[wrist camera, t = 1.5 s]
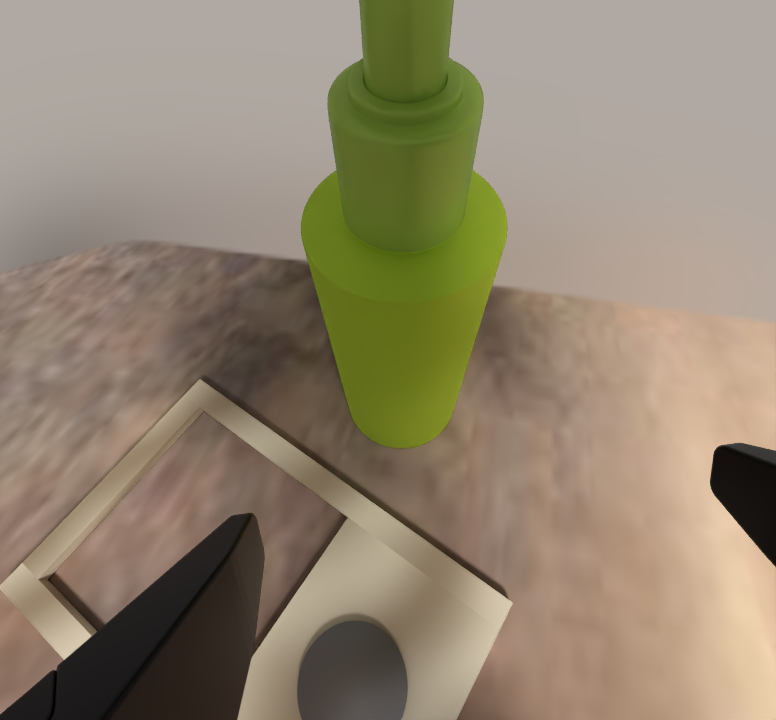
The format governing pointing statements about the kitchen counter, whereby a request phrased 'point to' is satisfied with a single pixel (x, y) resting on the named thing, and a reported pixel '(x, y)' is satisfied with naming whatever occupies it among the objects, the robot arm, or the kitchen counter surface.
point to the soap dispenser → (404, 224)
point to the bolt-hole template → (311, 596)
